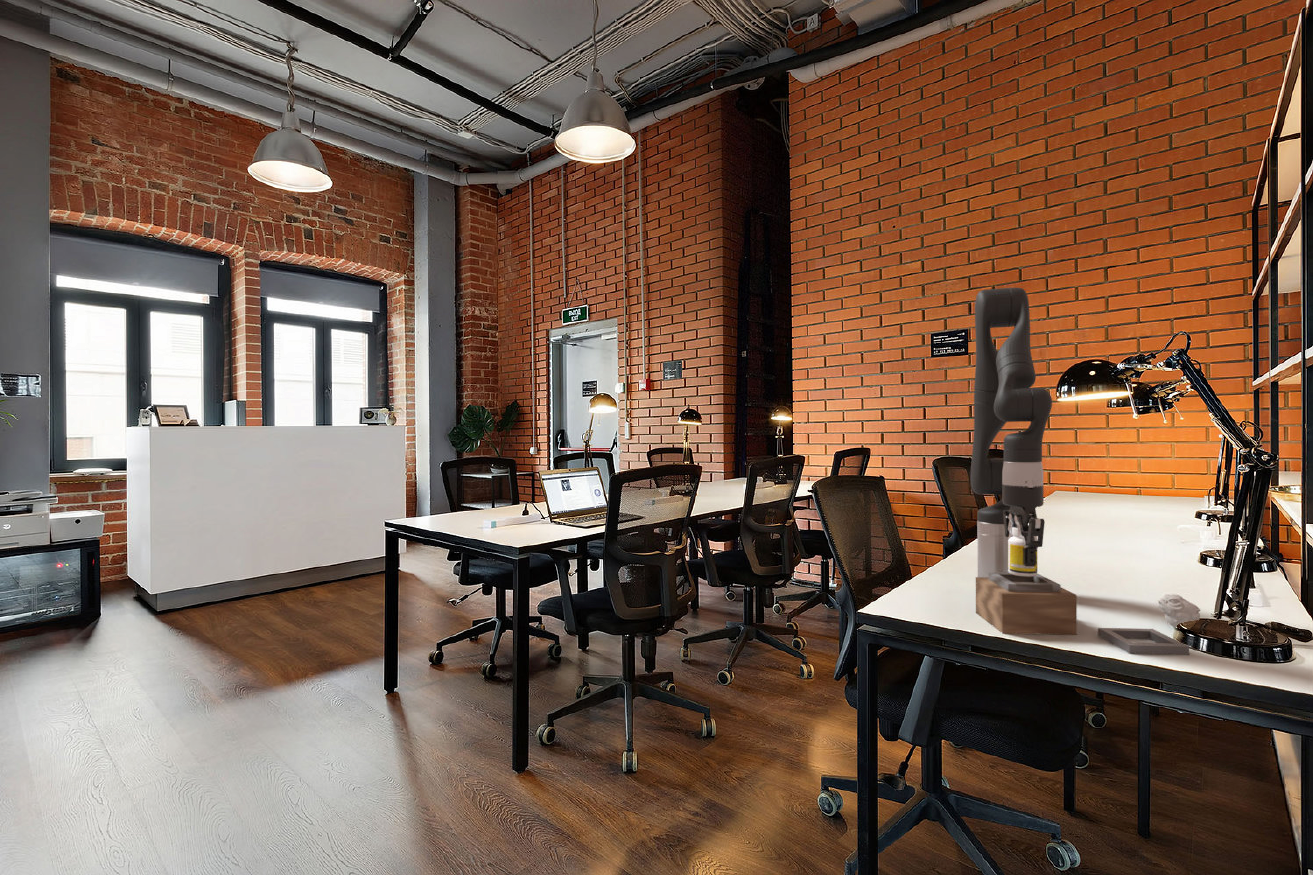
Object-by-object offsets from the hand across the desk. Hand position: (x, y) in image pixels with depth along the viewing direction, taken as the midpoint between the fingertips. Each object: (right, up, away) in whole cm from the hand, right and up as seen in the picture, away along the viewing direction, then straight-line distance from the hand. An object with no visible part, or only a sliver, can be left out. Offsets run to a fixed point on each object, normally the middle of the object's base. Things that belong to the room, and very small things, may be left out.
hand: (1022, 562), depth 134 cm
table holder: (+15, -13, -14) cm, 24 cm away
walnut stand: (0, -13, 0) cm, 13 cm away
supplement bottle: (0, -3, 0) cm, 3 cm away
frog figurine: (+29, -13, -5) cm, 32 cm away
